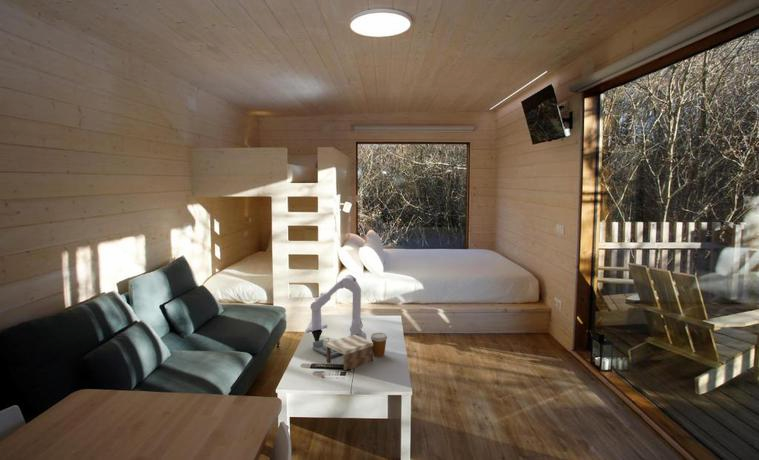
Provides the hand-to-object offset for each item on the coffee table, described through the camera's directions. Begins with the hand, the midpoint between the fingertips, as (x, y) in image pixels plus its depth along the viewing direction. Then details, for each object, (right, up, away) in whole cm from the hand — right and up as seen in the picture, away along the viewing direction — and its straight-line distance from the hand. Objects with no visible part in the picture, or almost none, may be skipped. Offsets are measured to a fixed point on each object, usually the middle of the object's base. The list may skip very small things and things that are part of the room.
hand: (316, 341), depth 275 cm
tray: (+9, -4, -9) cm, 13 cm away
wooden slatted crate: (+22, -5, -24) cm, 33 cm away
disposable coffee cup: (+38, -4, -15) cm, 41 cm away
